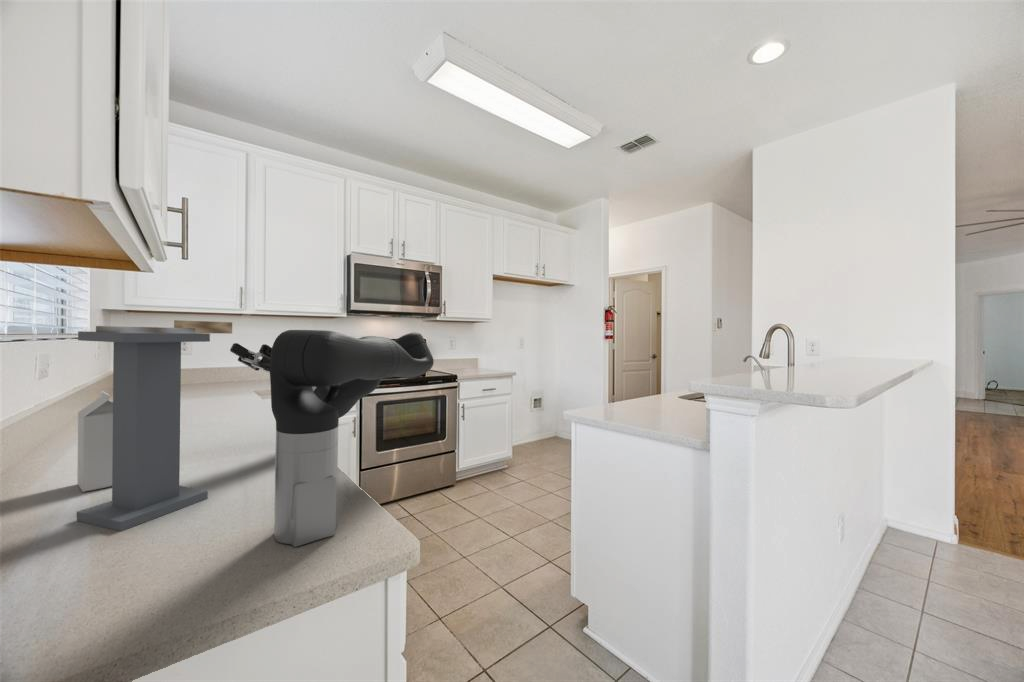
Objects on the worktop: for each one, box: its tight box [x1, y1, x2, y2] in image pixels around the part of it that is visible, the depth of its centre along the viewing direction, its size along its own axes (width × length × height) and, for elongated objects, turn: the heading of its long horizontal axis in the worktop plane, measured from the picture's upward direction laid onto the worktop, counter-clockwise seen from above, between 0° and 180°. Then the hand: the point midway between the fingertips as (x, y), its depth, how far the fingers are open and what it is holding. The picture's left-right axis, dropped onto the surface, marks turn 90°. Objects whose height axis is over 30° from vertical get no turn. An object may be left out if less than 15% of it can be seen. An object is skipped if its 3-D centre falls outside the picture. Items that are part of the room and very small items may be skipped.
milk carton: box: [77, 390, 113, 493], centre depth 86 cm, size 7×7×19 cm
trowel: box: [95, 319, 233, 334], centre depth 78 cm, size 21×6×2 cm, turn 163°
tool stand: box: [76, 331, 211, 532], centre depth 74 cm, size 14×11×32 cm
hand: (247, 347), depth 93 cm, fingers open, 8 cm apart
